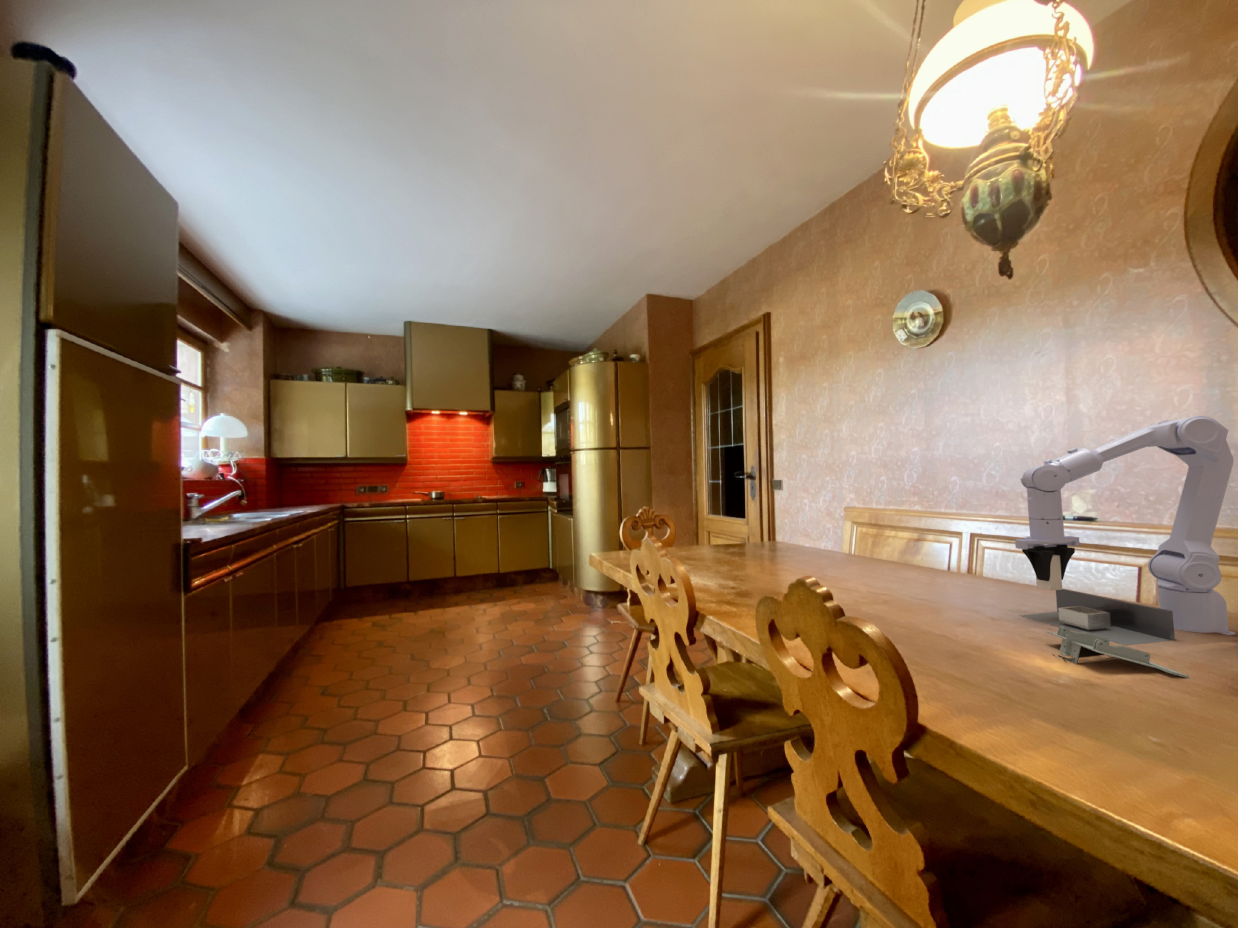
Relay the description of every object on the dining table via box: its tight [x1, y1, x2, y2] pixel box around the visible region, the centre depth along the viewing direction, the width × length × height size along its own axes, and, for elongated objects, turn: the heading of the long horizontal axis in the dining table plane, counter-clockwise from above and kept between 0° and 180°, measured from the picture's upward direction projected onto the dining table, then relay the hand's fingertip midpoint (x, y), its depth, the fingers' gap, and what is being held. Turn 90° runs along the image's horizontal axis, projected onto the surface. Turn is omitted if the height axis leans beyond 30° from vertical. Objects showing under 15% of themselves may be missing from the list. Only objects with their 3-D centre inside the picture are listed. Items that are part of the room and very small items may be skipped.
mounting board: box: [1019, 611, 1177, 646], centre depth 98 cm, size 12×20×1 cm, turn 9°
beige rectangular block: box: [1035, 555, 1063, 591], centre depth 104 cm, size 3×3×8 cm
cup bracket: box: [1055, 587, 1176, 641], centre depth 98 cm, size 10×20×6 cm, turn 9°
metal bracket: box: [1045, 626, 1191, 679], centre depth 83 cm, size 14×6×15 cm
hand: (1050, 579), depth 104 cm, fingers closed on beige rectangular block, 3 cm apart
